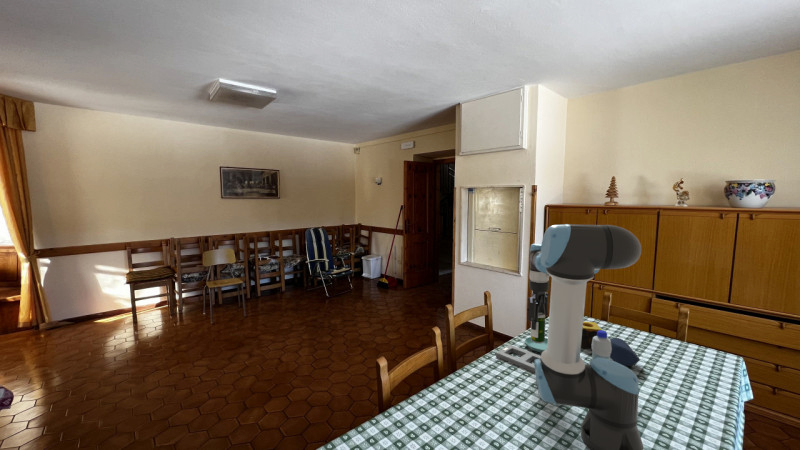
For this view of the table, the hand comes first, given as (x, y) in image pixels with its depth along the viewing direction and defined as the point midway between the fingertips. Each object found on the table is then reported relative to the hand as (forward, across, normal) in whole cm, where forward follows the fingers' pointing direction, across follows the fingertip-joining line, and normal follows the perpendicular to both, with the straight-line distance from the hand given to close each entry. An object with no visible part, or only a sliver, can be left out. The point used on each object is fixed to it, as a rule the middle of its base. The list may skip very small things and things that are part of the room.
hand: (537, 334), depth 134 cm
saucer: (+14, +18, +7) cm, 24 cm away
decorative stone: (+14, +30, -23) cm, 40 cm away
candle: (+14, +38, -6) cm, 41 cm away
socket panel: (+14, 0, +5) cm, 15 cm away
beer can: (+3, 0, 0) cm, 3 cm away
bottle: (+14, +8, -21) cm, 27 cm away
